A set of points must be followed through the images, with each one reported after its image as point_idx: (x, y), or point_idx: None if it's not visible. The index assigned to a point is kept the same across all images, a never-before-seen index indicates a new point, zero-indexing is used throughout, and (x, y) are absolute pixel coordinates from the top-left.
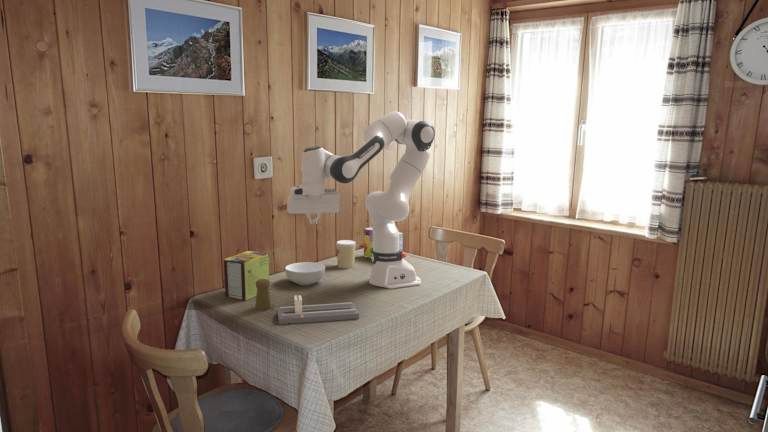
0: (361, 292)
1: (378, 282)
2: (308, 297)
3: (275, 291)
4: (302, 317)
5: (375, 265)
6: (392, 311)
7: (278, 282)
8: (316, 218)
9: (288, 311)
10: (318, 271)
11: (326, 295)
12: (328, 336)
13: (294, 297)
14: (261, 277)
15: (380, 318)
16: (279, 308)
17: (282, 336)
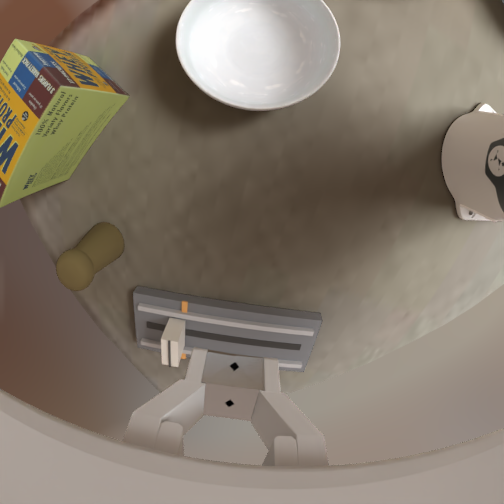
0: (391, 213)
1: (454, 188)
2: (230, 199)
3: (144, 114)
4: (183, 357)
5: (484, 178)
6: (381, 347)
7: (171, 30)
8: (263, 424)
9: (156, 321)
10: (296, 103)
11: (288, 200)
12: None
13: (161, 348)
14: (80, 127)
15: (340, 370)
16: (137, 297)
17: (149, 379)
